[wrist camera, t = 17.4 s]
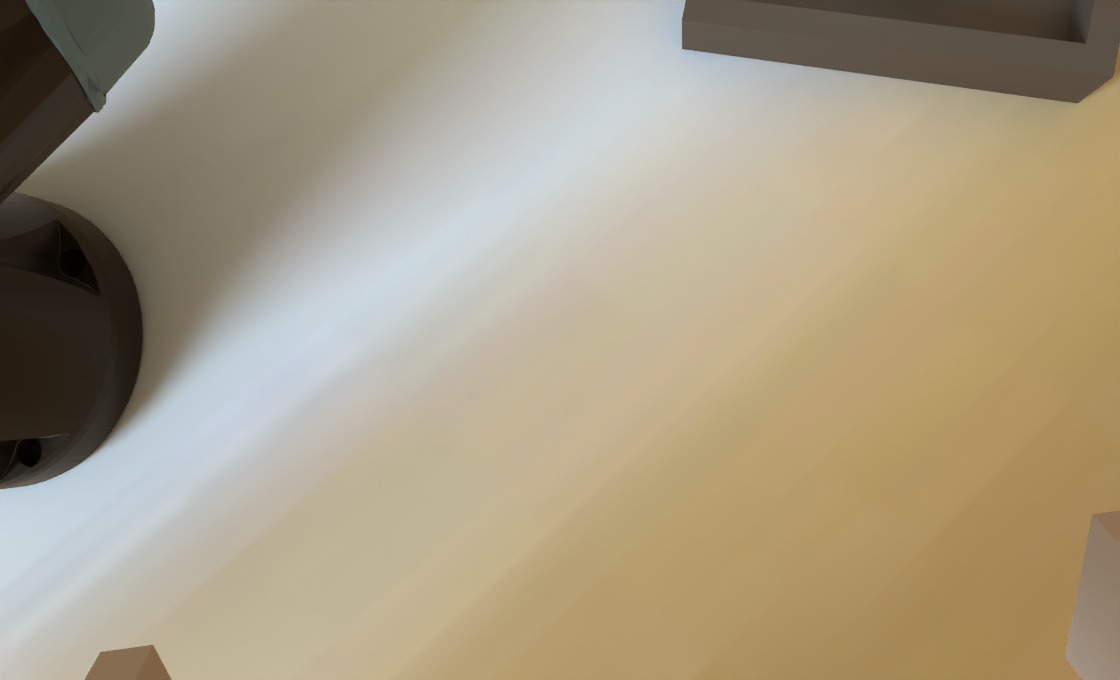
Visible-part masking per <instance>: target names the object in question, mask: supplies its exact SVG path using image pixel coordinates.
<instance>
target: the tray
mask: <svg viewBox="0 0 1120 680" xmlns="http://www.w3.org/2000/svg"><path fill="white" fill-rule="evenodd" d="M1119 42H1120V0H686V3H685V8H684V13H683V18H682V49H688V50H695V51H702V52H710V53H717V54H724V55H731V56H739V57H746V58H753V59H760V60H768V61H775V62H782V63H790V64H797V65H804V66H811V67H819V68H826V69H833V70H840V71H848V72H855V73H862V74H869V75H877V76H884V77H891V78H898V79H906V80H913V81H920V82H928V83H935V84H942V85H949V86H957V87H964V88H971V89H978V90H986V91H993V92H1000V93H1007V94H1015V95H1022V96H1029V97H1036V98H1044V99H1051V100H1058V101H1066V102H1073V103H1078V102H1080V101H1081V100H1082V99H1084V98H1085V97H1086V96H1088V95H1089V94H1090V93H1092V92H1093V91H1094V90H1096V89H1097V88H1099V87H1100V86H1101V85H1103V84H1104V83H1105V82H1107V81H1108V80H1109V79H1111V78H1112V77H1113V74H1114V69H1115V63H1116V58H1117V52H1118V47H1119Z"/></svg>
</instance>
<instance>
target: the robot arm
mask: <svg viewBox="0 0 1120 680" xmlns="http://www.w3.org/2000/svg"><path fill="white" fill-rule="evenodd" d="M154 26H155V8H154V4H153V2H152V0H0V489H7V488H14V487H22V486H28V485H32V484H37V483H40V482H43V481H46V480H49V479H51V478H54V477H56V476H58V475H60V474H62V473H64V472H66V471H67V470H69V469H71V468H72V467H74V466H75V465H77V464H78V463H80V462H81V461H82V460H84V459H85V458H86V457H87V456H88V455H90V454H91V453H92V452H93V451H94V450H95V449H96V448H97V447H98V446H99V445H100V444H101V443H102V441H103V440H104V439H105V438H106V437H107V435H108V434H109V433H110V432H111V430H112V429H113V427H114V426H115V424H116V423H117V421H118V420H119V418H120V416H121V415H122V413H123V411H124V409H125V407H126V405H127V403H128V401H129V398H130V396H131V393H132V391H133V388H134V385H135V382H136V378H137V374H138V370H139V365H140V360H141V351H142V317H141V310H140V304H139V300H138V295H137V292H136V288H135V285H134V282H133V280H132V277H131V274H130V272H129V270H128V268H127V266H126V264H125V262H124V260H123V259H122V257H121V255H120V254H119V252H118V251H117V249H116V248H115V246H114V245H113V244H112V243H111V241H110V240H109V239H108V238H107V237H106V236H105V235H104V234H103V233H102V232H101V231H100V230H99V229H98V228H97V227H96V226H95V225H94V224H92V223H91V222H90V221H88V220H87V219H86V218H84V217H82V216H81V215H79V214H78V213H76V212H74V211H72V210H70V209H68V208H65V207H63V206H61V205H57V204H54V203H51V202H48V201H45V200H41V199H38V198H35V197H31V196H28V195H25V194H20V193H16V192H13V191H14V190H15V189H16V188H18V187H19V186H20V185H21V184H22V183H23V182H24V181H25V180H26V179H27V178H28V177H29V176H30V175H31V174H32V173H33V172H34V171H35V170H36V169H37V168H38V167H39V166H40V165H41V164H42V163H43V162H44V161H45V160H46V159H47V158H48V157H49V156H50V155H51V154H52V153H53V152H54V151H55V150H56V149H57V148H58V147H59V146H60V145H61V144H62V143H63V142H64V141H65V140H66V139H67V138H68V137H69V136H70V135H71V134H72V133H73V132H74V131H75V130H76V129H77V128H78V127H79V126H80V125H81V124H82V123H83V122H84V121H85V120H86V119H87V118H88V117H89V116H90V115H91V114H92V113H93V112H97V113H98V112H99V111H100V110H101V109H102V108H103V107H102V106H104V105H105V104H106V94H107V93H108V92H109V90H110V89H111V88H112V87H113V86H114V85H115V83H116V82H117V81H118V80H119V79H120V78H121V76H122V75H123V74H124V73H125V72H126V71H127V70H128V68H129V67H130V66H131V65H132V64H133V63H134V62H135V60H136V59H137V58H138V57H139V56H140V55H141V54H142V52H143V51H144V50H145V49H146V48H147V46H148V45H149V43H150V39H151V38H152V35H153V32H154ZM1065 658H1066V659H1067V661H1068V662H1069V663H1070V665H1071V666H1072V667H1073V669H1074V670H1075V671H1076V673H1077V674H1078V676H1079V677H1080V678H1081V680H1120V511H1114V512H1107V513H1100V514H1093V515H1092V518H1091V523H1090V528H1089V534H1088V539H1087V544H1086V549H1085V554H1084V560H1083V565H1082V570H1081V575H1080V580H1079V586H1078V591H1077V596H1076V601H1075V606H1074V612H1073V617H1072V622H1071V627H1070V632H1069V638H1068V643H1067V648H1066V653H1065ZM85 680H171V678H170V676H169V674H168V672H167V670H166V668H165V666H164V665H163V663H162V661H161V659H160V657H159V655H158V653H157V651H156V650H155V648H154V646H153V645H149V646H142V647H135V648H127V649H120V650H113V651H106V652H100V654H99V656H98V658H97V659H96V661H95V663H94V664H93V666H92V668H91V670H90V671H89V673H88V675H87V676H86V678H85Z"/></svg>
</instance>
